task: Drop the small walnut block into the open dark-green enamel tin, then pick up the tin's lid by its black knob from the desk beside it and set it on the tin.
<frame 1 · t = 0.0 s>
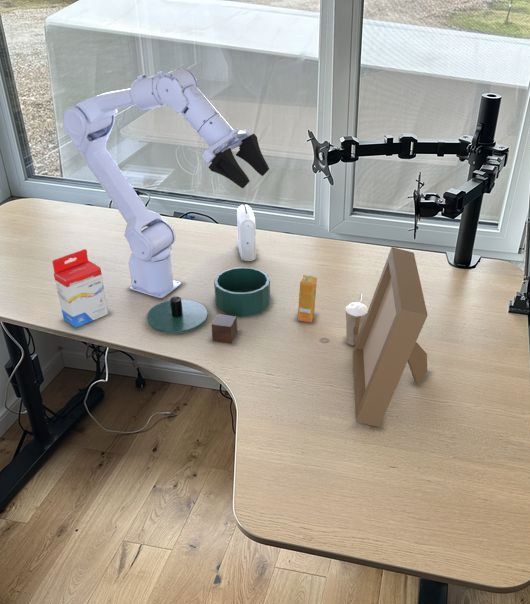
hand: (256, 178, 128), 32 cm above the table, tool tilted 50°, fingers open, 7 cm apart
tin: (243, 302, 152), on the table
block: (225, 336, 140), on the table
lid: (177, 316, 145), point 1 cm above the table
milkshake: (354, 341, 140), on the table
photo frame: (392, 390, 127), on the table
ink box: (86, 317, 145), on the table
supplement box: (306, 318, 147), on the table
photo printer: (247, 253, 172), on the table
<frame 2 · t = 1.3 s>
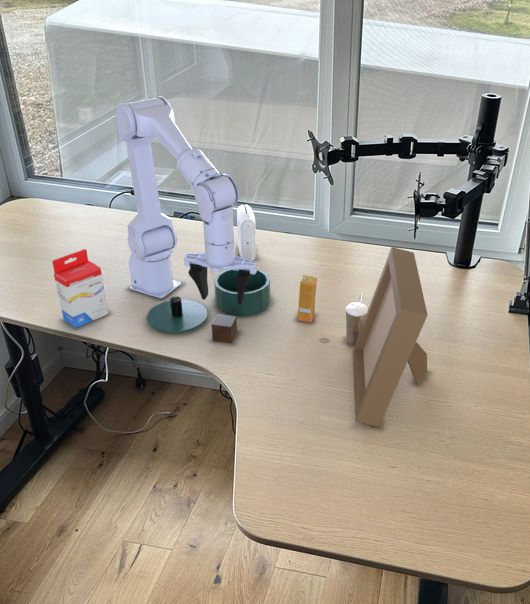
hand: (222, 299, 135), 9 cm above the table, tool pointing down, fingers open, 7 cm apart
nothing on the table moved.
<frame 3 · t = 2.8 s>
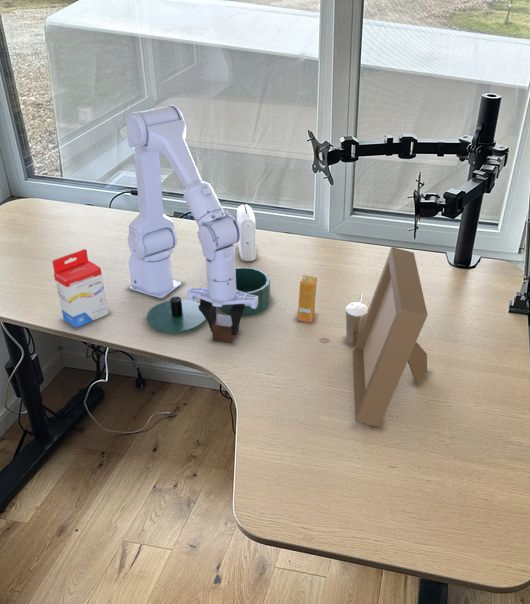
hand: (224, 331, 139), 1 cm above the table, tool pointing down, fingers closed on block, 4 cm apart
block: (225, 336, 140), on the table, touching gripper
everything else where it was.
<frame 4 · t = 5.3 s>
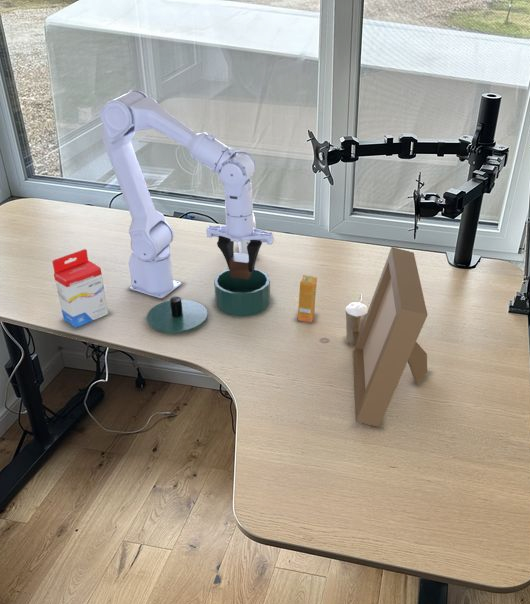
hand: (241, 268, 147), 9 cm above the table, tool pointing down, fingers closed on block, 4 cm apart
block: (241, 274, 147), point 7 cm above the table, touching gripper
everything else where it was.
when the fingers open (2 cm above the table, at t = 7.6 s): block stays where it is, resting on tin.
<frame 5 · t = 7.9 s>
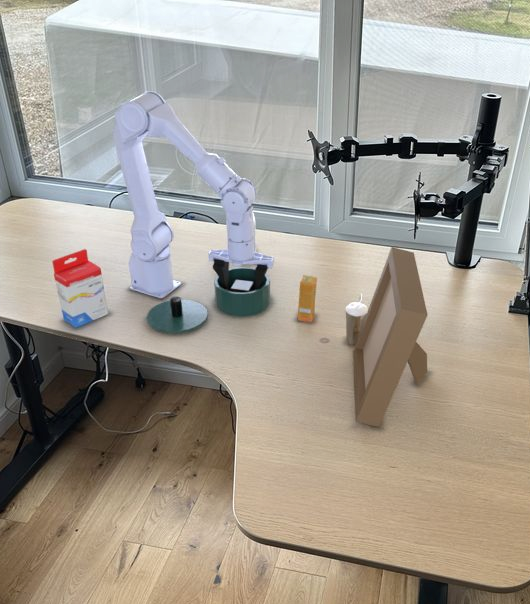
hand: (242, 291, 150), 3 cm above the table, tool pointing down, fingers open, 7 cm apart
block: (242, 300, 152), resting on tin
everything else where it was.
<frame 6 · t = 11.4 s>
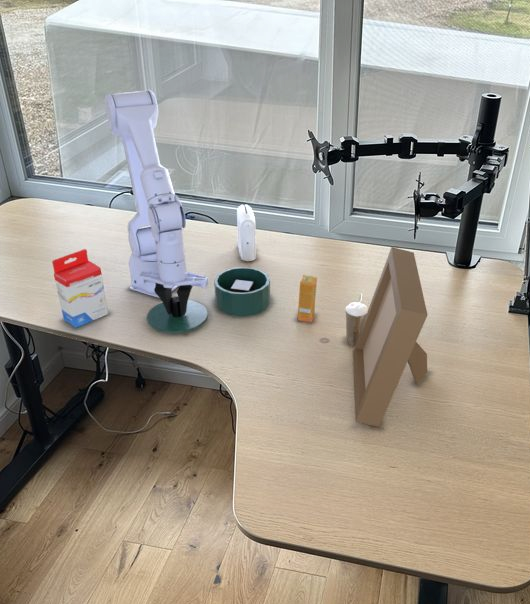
hand: (177, 312, 145), 2 cm above the table, tool pointing down, fingers closed on lid, 2 cm apart
lid: (177, 316, 145), point 1 cm above the table, touching gripper
everything else where it was.
when the fingers open (7 cm above the table, at t = 15.1 s): lid stays where it is, resting on tin.
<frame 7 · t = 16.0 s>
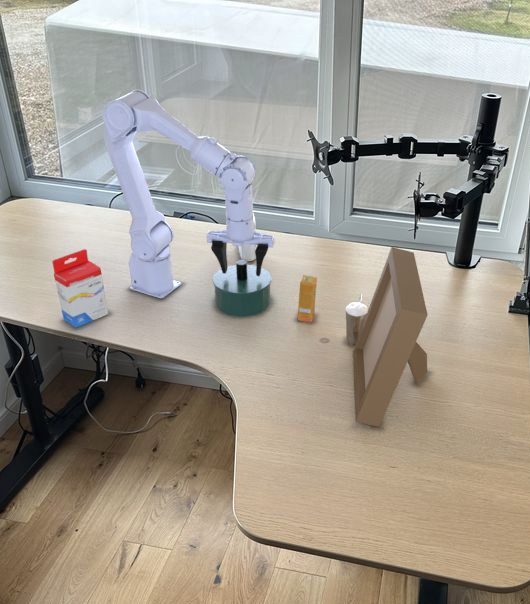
hand: (241, 272, 147), 8 cm above the table, tool pointing down, fingers open, 7 cm apart
lid: (242, 280, 148), point 6 cm above the table, touching tin
everything else where it was.
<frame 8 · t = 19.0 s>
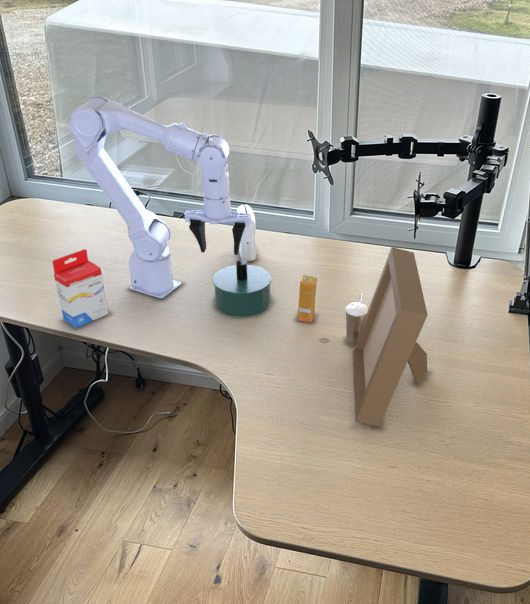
hand: (220, 251, 150), 10 cm above the table, tool pointing down, fingers open, 7 cm apart
nothing on the table moved.
at the end: block inside the target area in the tin (0.0 cm from its centre), point 0.4 cm above the tin's base; lid 0.1 cm off-centre on the tin, point 5.9 cm above the tin's base; lid tilted 0° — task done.
